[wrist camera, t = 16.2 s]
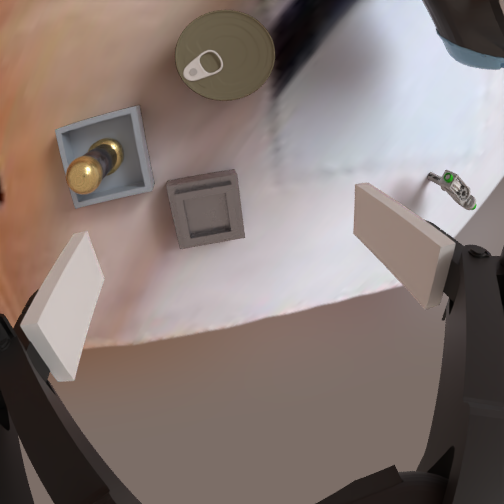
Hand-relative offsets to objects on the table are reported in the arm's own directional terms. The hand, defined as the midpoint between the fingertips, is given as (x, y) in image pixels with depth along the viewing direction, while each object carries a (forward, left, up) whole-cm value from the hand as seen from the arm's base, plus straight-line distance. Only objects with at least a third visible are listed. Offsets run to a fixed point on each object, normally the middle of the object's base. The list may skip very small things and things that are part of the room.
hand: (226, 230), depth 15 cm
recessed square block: (+11, -1, -33) cm, 35 cm away
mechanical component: (+11, +41, -33) cm, 54 cm away
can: (-11, +4, -33) cm, 35 cm away
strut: (0, -14, -32) cm, 35 cm away
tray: (0, -14, -33) cm, 36 cm away
